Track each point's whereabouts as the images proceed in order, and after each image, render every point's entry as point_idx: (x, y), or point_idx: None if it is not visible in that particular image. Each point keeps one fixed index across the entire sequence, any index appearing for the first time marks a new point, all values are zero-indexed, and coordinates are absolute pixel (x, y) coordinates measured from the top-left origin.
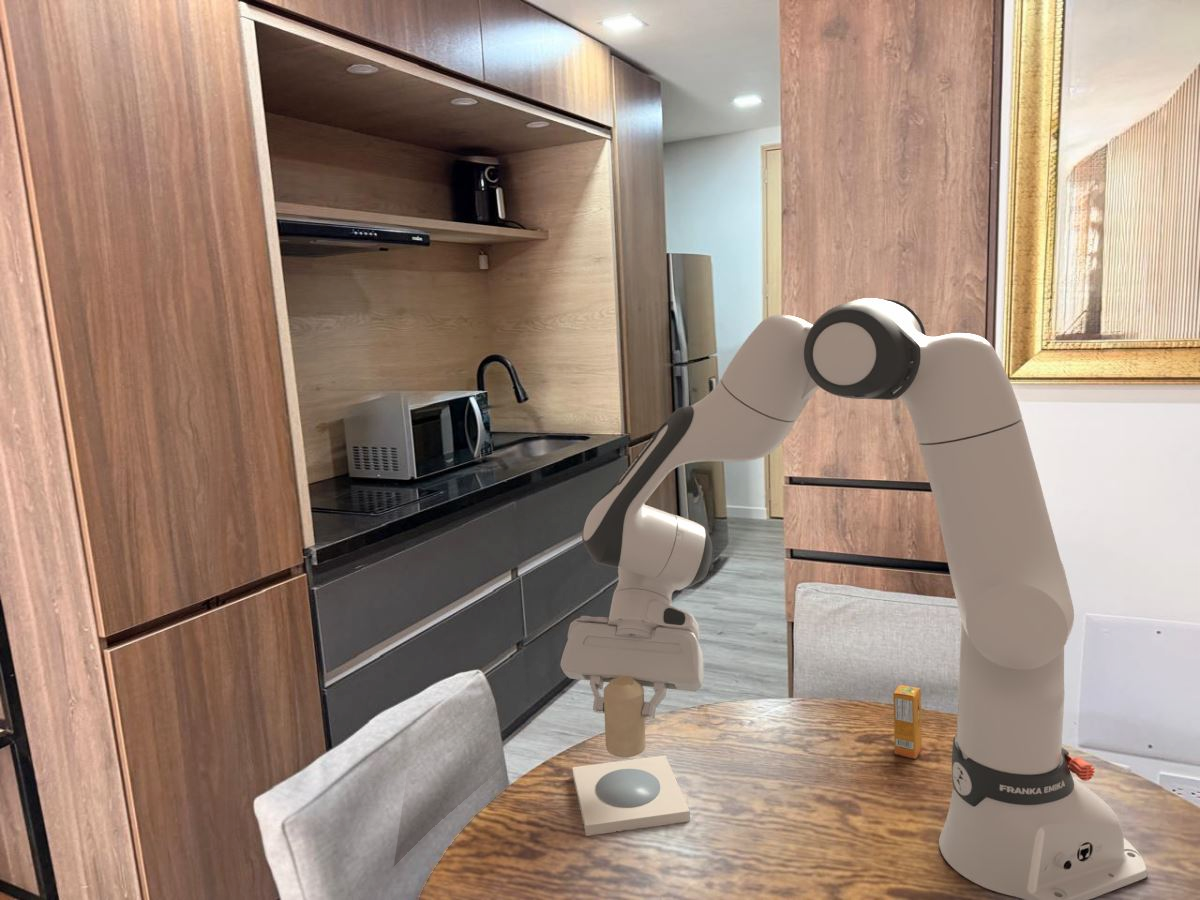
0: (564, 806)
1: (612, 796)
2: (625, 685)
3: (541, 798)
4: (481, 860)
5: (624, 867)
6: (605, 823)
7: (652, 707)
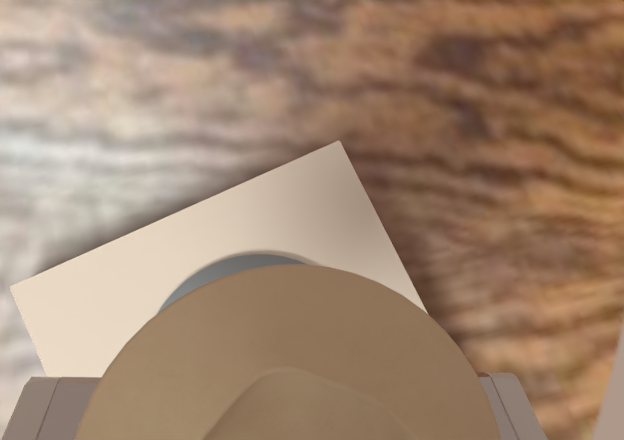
0: (445, 273)
1: None
2: (241, 392)
3: (529, 296)
4: (558, 10)
5: (189, 48)
6: (282, 166)
7: (11, 425)
